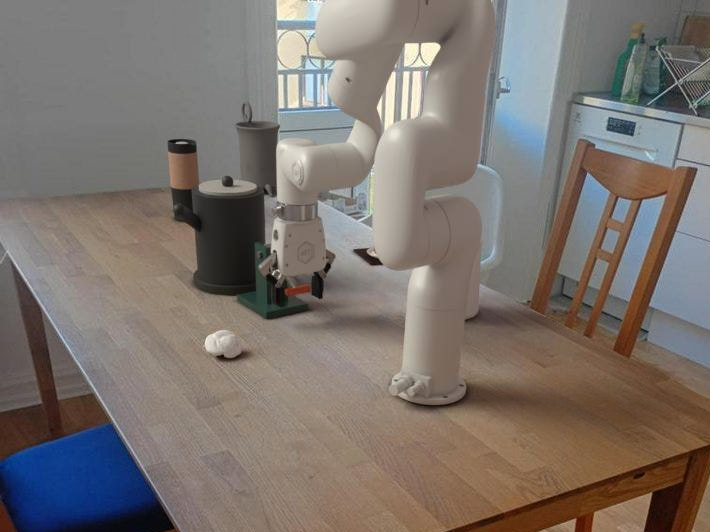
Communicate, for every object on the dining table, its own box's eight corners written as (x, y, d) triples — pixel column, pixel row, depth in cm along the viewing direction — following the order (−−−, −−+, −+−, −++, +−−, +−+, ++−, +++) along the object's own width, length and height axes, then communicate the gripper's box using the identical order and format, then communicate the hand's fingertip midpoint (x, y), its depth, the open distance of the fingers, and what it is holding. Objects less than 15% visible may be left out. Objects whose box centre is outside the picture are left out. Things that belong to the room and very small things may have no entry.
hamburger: (416, 261, 193) (418, 239, 190) (371, 265, 189) (372, 242, 186) (396, 247, 202) (398, 225, 200) (353, 250, 199) (354, 228, 196)
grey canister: (293, 194, 246) (292, 107, 233) (250, 199, 239) (247, 109, 226) (265, 182, 260) (263, 99, 246) (224, 186, 253) (220, 100, 239)
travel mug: (170, 216, 220) (163, 139, 209) (197, 214, 222) (192, 138, 212) (177, 223, 214) (170, 144, 203) (204, 221, 217) (199, 143, 206)
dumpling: (232, 347, 145) (236, 328, 143) (243, 362, 142) (248, 343, 140) (197, 348, 141) (201, 328, 139) (208, 363, 138) (212, 344, 136)
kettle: (285, 286, 174) (283, 179, 162) (198, 303, 163) (190, 190, 151) (240, 262, 187) (236, 162, 175) (157, 276, 176) (147, 170, 164)
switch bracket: (308, 309, 162) (308, 248, 156) (266, 319, 157) (264, 255, 150) (277, 292, 170) (276, 233, 163) (237, 300, 165) (234, 239, 158)
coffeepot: (417, 332, 154) (425, 236, 144) (433, 291, 175) (440, 204, 165) (472, 338, 153) (484, 241, 143) (481, 296, 173) (492, 209, 163)
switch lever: (309, 295, 156) (312, 286, 154) (287, 299, 153) (289, 290, 151) (277, 251, 161) (280, 241, 159) (255, 254, 158) (257, 245, 156)
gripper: (267, 221, 139) (269, 315, 148) (347, 210, 148) (344, 299, 157) (246, 212, 144) (250, 303, 153) (324, 201, 153) (323, 288, 162)
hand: (298, 300), depth 155 cm, fingers open, 8 cm apart
